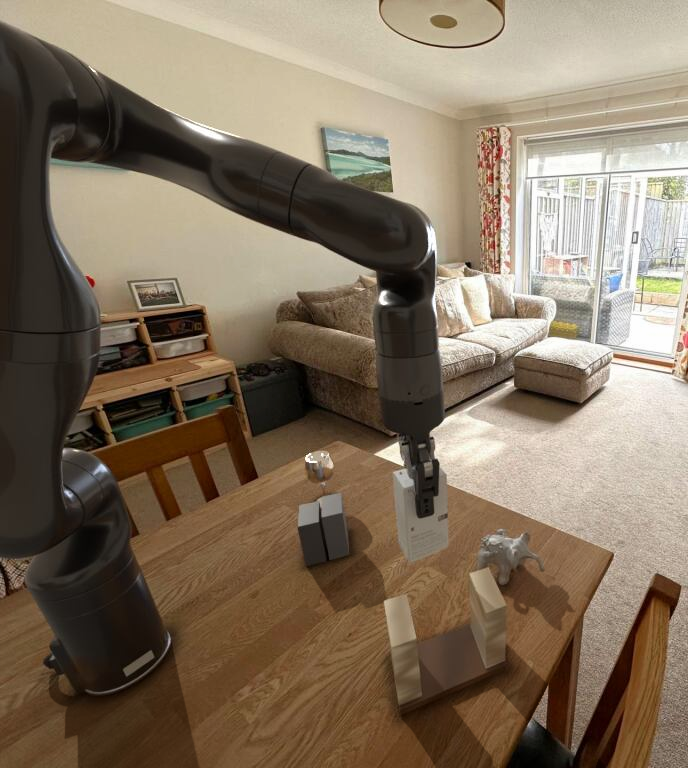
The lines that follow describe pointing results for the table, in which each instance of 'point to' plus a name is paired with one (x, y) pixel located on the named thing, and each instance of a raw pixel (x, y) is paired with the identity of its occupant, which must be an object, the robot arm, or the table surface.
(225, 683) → the table surface
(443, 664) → the book board
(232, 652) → the table surface
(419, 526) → the cosmetic box
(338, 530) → the grey books
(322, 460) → the wineglass
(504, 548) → the gray elephant figurine
